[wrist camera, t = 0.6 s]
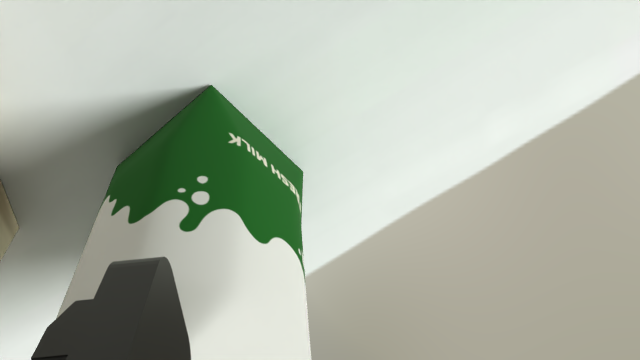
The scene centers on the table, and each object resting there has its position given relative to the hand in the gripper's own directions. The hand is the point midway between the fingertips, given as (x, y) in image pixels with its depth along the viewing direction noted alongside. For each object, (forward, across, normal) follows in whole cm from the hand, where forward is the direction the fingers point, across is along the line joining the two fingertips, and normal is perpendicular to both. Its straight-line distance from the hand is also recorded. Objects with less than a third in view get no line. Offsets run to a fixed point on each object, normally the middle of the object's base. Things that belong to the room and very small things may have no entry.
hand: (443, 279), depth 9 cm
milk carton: (+22, +8, +8) cm, 25 cm away
